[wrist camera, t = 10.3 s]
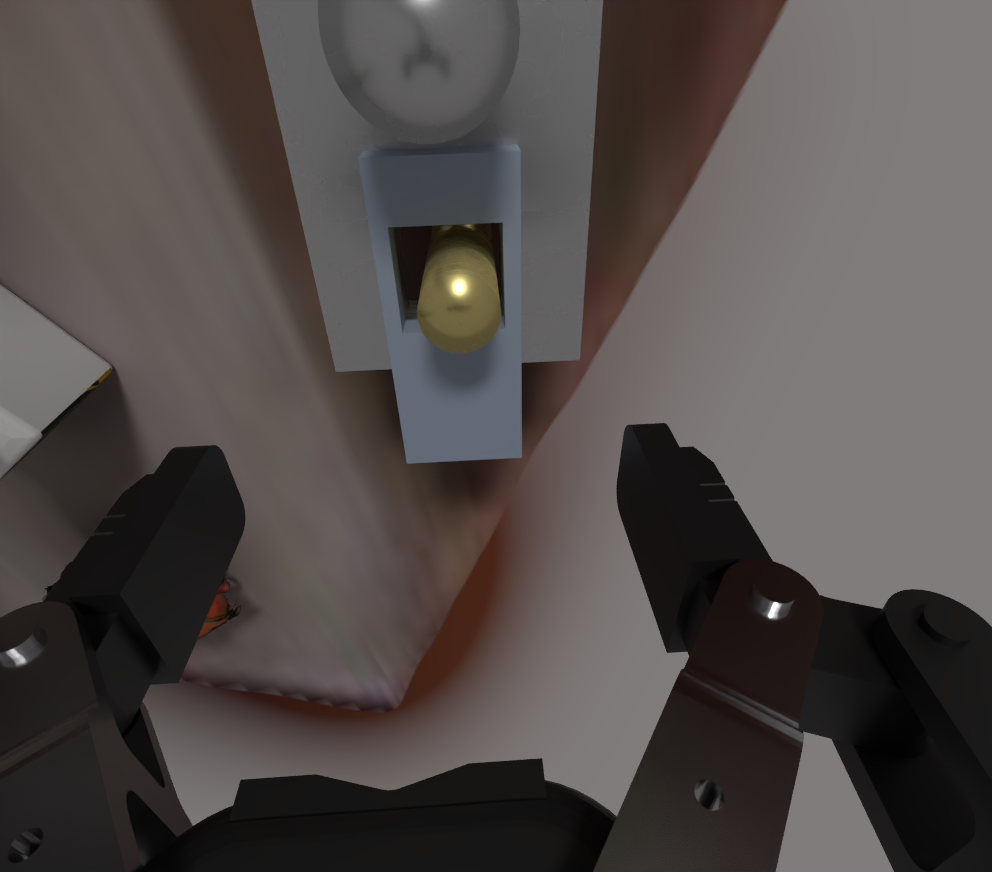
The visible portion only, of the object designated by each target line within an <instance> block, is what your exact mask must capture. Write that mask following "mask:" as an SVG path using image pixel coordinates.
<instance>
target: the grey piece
mask: <svg viewBox="0 0 992 872" xmlns="http://www.w3.org/2000/svg"><path fill="white" fill-rule="evenodd" d="M251 1H252V5H253V10H254V14H255V19H256V23H257V27H258V32H259V36H260V40H261V45H262V49H263V54H264V58H265V62H266V67H267V71H268V76H269V80H270V84H271V89H272V93H273V98H274V102H275V106H276V111H277V115H278V120H279V124H280V128H281V133H282V137H283V141H284V146H285V150H286V155H287V159H288V163H289V168H290V172H291V177H292V181H293V185H294V190H295V194H296V199H297V203H298V207H299V212H300V216H301V221H302V225H303V229H304V234H305V238H306V242H307V247H308V251H309V256H310V260H311V264H312V269H313V273H314V278H315V282H316V286H317V291H318V295H319V300H320V304H321V308H322V313H323V317H324V321H325V326H326V330H327V335H328V339H329V343H330V348H331V352H332V357H333V361H334V365H335V370H336V372H342V371H363V370H384V369H392V367H391V361H390V354H389V348H388V342H387V336H386V329H385V323H384V317H383V311H382V304H381V298H380V292H379V286H378V279H377V273H376V267H375V261H374V254H373V248H372V242H371V236H370V229H369V223H368V217H367V211H366V204H365V198H364V192H363V186H362V179H361V173H360V167H359V161H358V157H359V156H360V155H361V154H362V153H363V152H364V151H385V150H409V149H433V148H457V147H481V146H505V145H518V147H519V149H520V151H521V361H522V363H527V362H548V361H568V360H580V349H581V333H582V318H583V302H584V287H585V271H586V256H587V240H588V225H589V209H590V194H591V179H592V163H593V148H594V132H595V117H596V101H597V86H598V70H599V55H600V39H601V24H602V8H603V0H251ZM393 232H394V240H395V247H396V254H397V262H398V269H399V276H400V284H401V291H402V298H403V306H404V313H405V320H418V318H417V307H418V302H419V300H410V299H409V291H408V283H407V275H406V267H405V260H404V252H403V244H402V236H401V228H400V227H393ZM499 249H500V285H501V296H499V299H500V307H501V316H503V278H502V238H501V223H499Z"/></svg>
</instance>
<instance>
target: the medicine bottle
mask: <svg viewBox="0 0 992 872" xmlns="http://www.w3.org/2000/svg"><path fill="white" fill-rule="evenodd" d="M111 371H112V366H111V365H110V364H109V363H108V362H107V361H105V360H104V359H103V358H101V357H100V356H98V355H97V354H96V353H94V352H93V351H92V350H90V349H89V348H87V347H86V346H85V345H83V344H82V343H81V342H79V341H78V340H76V339H75V338H74V337H72V336H71V335H70V334H68V333H67V332H65V331H64V330H63V329H61V328H60V327H59V326H57V325H56V324H54V323H53V322H52V321H50V320H49V319H48V318H46V317H45V316H44V315H42V314H41V313H39V312H38V311H37V310H35V309H34V308H33V307H31V306H30V305H28V304H27V303H26V302H24V301H23V300H22V299H20V298H19V297H17V296H16V295H15V294H13V293H12V292H11V291H9V290H8V289H6V288H5V287H4V286H2V285H1V284H0V479H1V478H3V477H4V476H5V475H6V474H7V473H8V472H9V471H10V470H11V469H12V468H13V467H14V466H15V465H16V464H17V463H18V462H19V461H21V460H22V459H23V458H24V457H25V456H26V455H27V454H28V453H29V452H30V451H31V450H32V449H33V448H34V447H35V446H36V445H37V444H39V443H40V442H41V441H42V440H43V439H44V438H45V437H46V436H47V435H48V434H49V433H50V432H51V431H52V430H53V429H54V428H55V427H56V426H57V425H58V424H59V423H60V422H61V421H62V420H63V419H64V418H65V417H66V416H67V415H68V414H70V413H71V412H72V411H73V410H74V409H75V408H76V407H77V406H78V405H79V404H80V403H81V402H82V401H83V400H84V399H85V398H86V397H87V396H88V395H89V394H90V393H91V392H92V391H93V390H94V389H95V388H96V387H97V386H98V385H99V384H100V383H101V382H102V381H103V380H104V379H105V378H106V377H107V376H108V375H109V374H110V373H111Z"/></svg>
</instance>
